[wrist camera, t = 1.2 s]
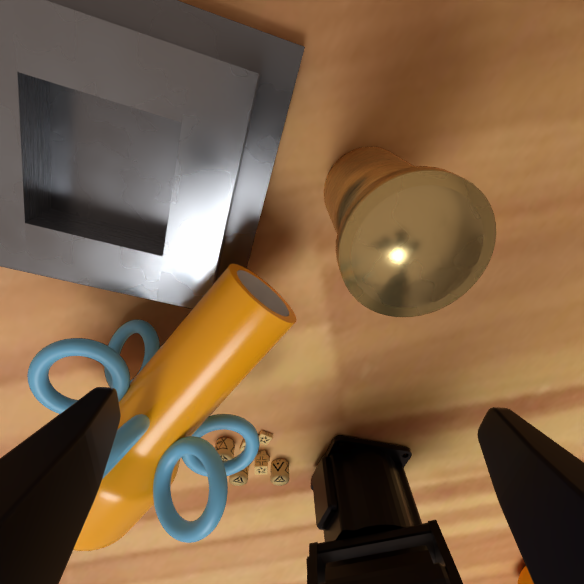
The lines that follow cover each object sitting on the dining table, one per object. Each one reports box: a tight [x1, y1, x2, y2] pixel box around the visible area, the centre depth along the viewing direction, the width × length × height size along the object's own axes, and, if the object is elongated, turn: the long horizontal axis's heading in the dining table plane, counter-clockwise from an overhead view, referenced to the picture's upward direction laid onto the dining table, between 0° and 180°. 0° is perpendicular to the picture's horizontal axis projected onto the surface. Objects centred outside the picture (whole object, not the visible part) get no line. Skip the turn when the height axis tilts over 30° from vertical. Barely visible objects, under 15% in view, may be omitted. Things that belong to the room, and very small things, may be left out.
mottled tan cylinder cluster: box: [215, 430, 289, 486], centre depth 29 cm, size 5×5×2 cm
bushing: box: [324, 146, 496, 317], centre depth 16 cm, size 5×5×8 cm
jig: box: [0, 0, 305, 309], centre depth 17 cm, size 14×14×3 cm
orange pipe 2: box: [28, 264, 296, 551], centre depth 18 cm, size 12×10×15 cm
